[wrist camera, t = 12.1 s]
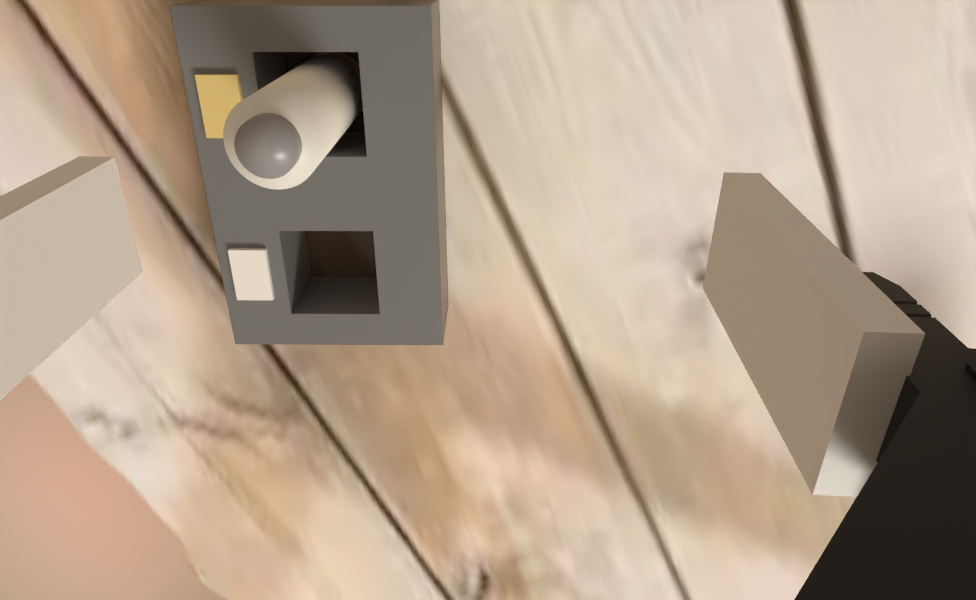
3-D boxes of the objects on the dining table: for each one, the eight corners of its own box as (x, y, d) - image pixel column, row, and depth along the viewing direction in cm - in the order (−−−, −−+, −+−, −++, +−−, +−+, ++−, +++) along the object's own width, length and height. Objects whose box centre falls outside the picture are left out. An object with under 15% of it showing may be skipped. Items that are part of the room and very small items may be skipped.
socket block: (261, 304, 44) (233, 346, 39) (209, -2, 36) (166, 6, 31) (448, 304, 44) (442, 347, 39) (439, -2, 36) (430, 6, 31)
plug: (285, 89, 38) (196, 151, 27) (327, 35, 37) (252, 76, 25) (340, 136, 39) (277, 214, 28) (382, 86, 38) (334, 146, 26)
